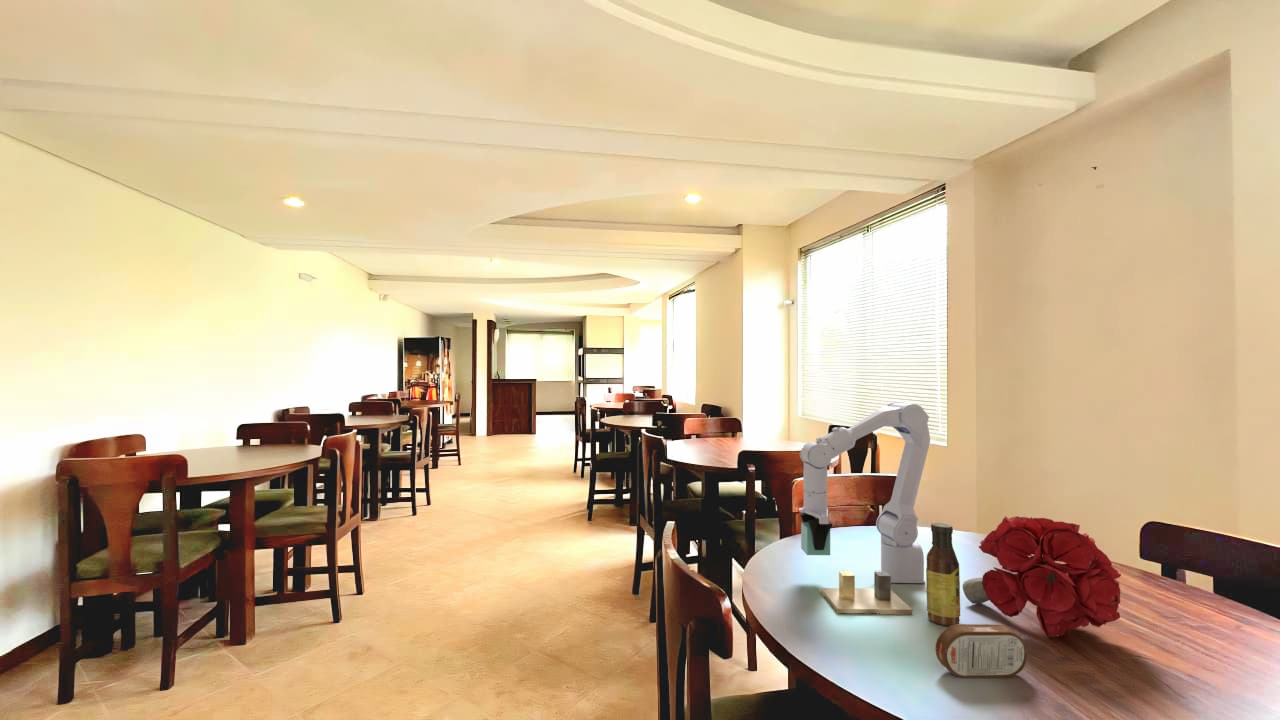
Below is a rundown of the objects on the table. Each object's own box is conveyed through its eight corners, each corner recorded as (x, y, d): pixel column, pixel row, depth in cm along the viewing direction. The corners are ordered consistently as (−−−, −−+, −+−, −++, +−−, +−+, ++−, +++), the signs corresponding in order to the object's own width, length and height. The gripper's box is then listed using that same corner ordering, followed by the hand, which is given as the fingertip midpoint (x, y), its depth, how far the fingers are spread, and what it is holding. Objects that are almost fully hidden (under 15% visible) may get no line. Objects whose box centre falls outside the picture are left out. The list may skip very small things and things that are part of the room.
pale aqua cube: (823, 548, 149) (823, 522, 149) (830, 555, 143) (830, 528, 143) (801, 548, 149) (801, 522, 149) (807, 555, 143) (807, 528, 143)
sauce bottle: (964, 628, 119) (964, 530, 119) (931, 625, 120) (931, 528, 120) (954, 615, 125) (953, 522, 125) (922, 612, 126) (922, 520, 127)
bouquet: (957, 652, 123) (1099, 630, 100) (915, 538, 134) (1033, 495, 111) (1024, 641, 131) (1169, 618, 108) (979, 535, 143) (1101, 494, 120)
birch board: (889, 592, 138) (889, 565, 138) (912, 614, 126) (912, 583, 126) (820, 592, 138) (820, 564, 138) (837, 613, 126) (837, 583, 126)
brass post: (850, 595, 133) (850, 571, 133) (854, 600, 130) (854, 575, 131) (839, 595, 133) (839, 571, 133) (842, 600, 130) (842, 575, 131)
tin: (1018, 670, 102) (1018, 622, 103) (1031, 680, 99) (1031, 629, 99) (934, 671, 102) (934, 622, 102) (944, 681, 99) (944, 630, 99)
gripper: (792, 485, 153) (792, 537, 153) (807, 497, 139) (807, 554, 139) (819, 485, 153) (819, 537, 153) (837, 497, 139) (837, 555, 139)
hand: (815, 545), depth 146 cm, fingers closed on pale aqua cube, 6 cm apart
